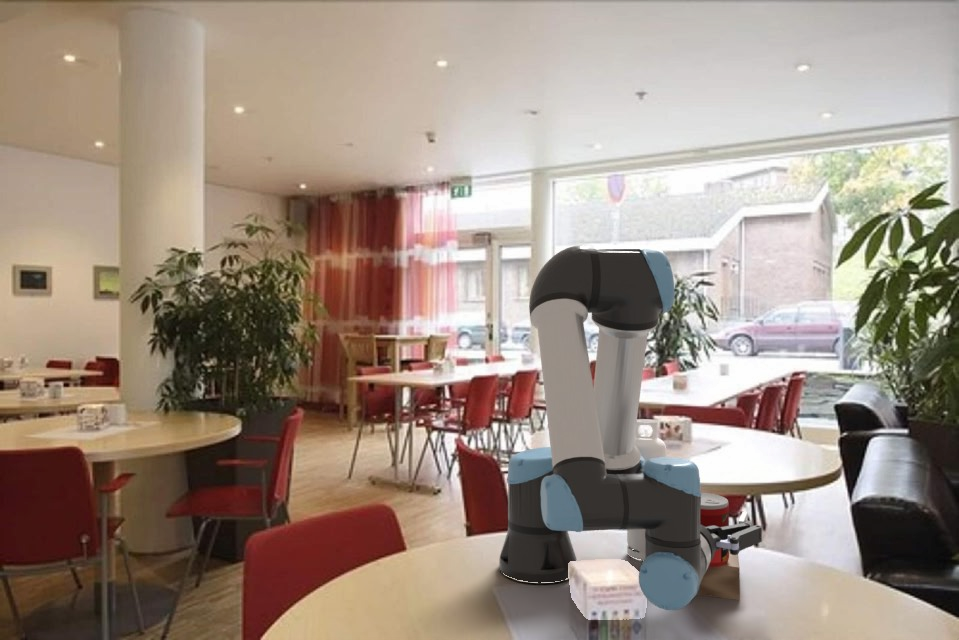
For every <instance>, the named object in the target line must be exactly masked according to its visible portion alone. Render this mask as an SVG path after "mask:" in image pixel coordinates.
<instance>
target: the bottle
mask: <svg viewBox="0 0 959 640" xmlns="http://www.w3.org/2000/svg"><path fill="white" fill-rule="evenodd" d="M641 426H650V428H651V429H652V431H651V432H649V428H643V430H644V431H642V430H641ZM634 445H635V446H636V447H637V448H638V450H639V451H640V455H641V456H642V457H643V458H644V459H645V461H647V460H648V459H650V458H657V457H668V456H667V455H668V454H667V446H666V443H665V441H663V440H662V439H661V438H659V421H658V420H656V419H650V418H649V419H647V418H646V419H645V418H639V419H638V418H637V423H636V431H635V440H634ZM626 538H627V539H626V541H627V542H626V543H627V545H626V547H627V550H626V552H627V553H628V554H629V555H630V556H632V557H634V558H637V559H641V560H645V529H629V530H626ZM632 549H634V551H633V550H632ZM627 553H626V554H627Z"/></svg>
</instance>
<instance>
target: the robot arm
mask: <svg viewBox="0 0 959 640" xmlns="http://www.w3.org/2000/svg"><path fill="white" fill-rule="evenodd" d="M667 256H668V255H666V254H665V252H664V251H663V250H662V249H660V248H659V247H656V246H643V245H639V244H634V245H631V244H630V245H582V244H581V245H574V246H569V247H567V248H564V249H562V250H561V251H559V252H557V253H556V254H554V255H553V256H552V257H550V259H549V260H547V261H546V262H545V264H544V265H543V266H542V267H541V269H540V271H539V272H538V274H537V276H536V278H535V279H534V282H533V284H532V287H531V290H530V295H529V305H528V306H529V307H528V309H529V318H530V323H531V325H532V326H533V327H534V328H535V329H537V337H538V345H539V354H540V362H541V363H540V364H541V373H542V381H543V382H542V383H543V393H544V399H545V400H544V401H545V409H546V419H547V426H548V427H547V428H548V434H549V435H548V436H549V437H548V438H549V444H550V445H549V446H544V447H543V446H542V447H535V448H531V449H526V450H523V451H519V452H517V453H515V454H513V456H512V457H510V459H509V461H508V467H507V477H506V482H507V484H508V485H507V494H508V495H507V502H508V503H507V525H508V526H507V533H506V536H505V540H504V541H503V542H504V543H503V544H502V549H501V551H500V555H499V560H498V561H499V562H498V563H499V568H500V569H499V571H500V570H501V572H502V573H504V574H505V575H507V576H509V577H512V578H515V579H517V580H523V581H528V582H538V583H541V582H555V581H561V580H565V579H566V578H568V563H569V562H570V561H576V560H577V557H576V553H575V551H574V548H573V547H574V546H573V543H572V541H571V538H570V535H569V532H576V533H581V532H591V531H608V530H610V531H611V530H618V531H619V530H624V531H625V530H626V531H627V530H629V529H645V560H644V561H643V562H642V561H641V562H642V563H641V565H640V569H639V571H638V584H639V588H640V589H641V592H642V593H643V595H644V597H645V598H646V600H647V601H648V602H650V603H651V604H652V605H654V606H655V607H657V608H659V609H662V610H665V611H677V610H680V609H683V608H685V607H686V606H687V605H689V603H691V601H692V600H693V599H694V598H695V597H696V595H698V594H697V591H698V590H699V585H700V583H701V581H702V579H703V576H704V574H705V573H706V570H707V568H708V566H709V564H710V562H711V560H712V558H713V556H714V554H715V551H718V550H719V549H720V548H727V549H728V551H730V554H732V555H738V556H739V553H740V552H741V551H744V550H745V549H748V548H750V547H753V546H754V545H755V546H756V545H758V544H760V543H762V542H763V537H762V536H763V534H762V533H763V531H762V530H763V529H762V527H763V526H761V525H759V524H756V525H753V521H752V520H748V514H749V513H748V511H743V510H742V512H741V515H740V517H739V518H738V519H739V520H738V523H737V524H731V525H730V524H729V526H725V527H718V526H715V525H713V526H708V527H704V526H703V525H701V524H700V512H701V493H702V492H701V491H702V490H701V478H700V470H699V467H698V465H697V464H696V463H695V462H693V461H691V460H690V459H686V458H682V457H677V456H676V457H675V456H667V457H657V458H650V459H648V460H647V461H645V459H644V458H643V457H642V456H641V455H640V451H639V450H638V448H637V447H636V446H635V445H634V440H635V431H636V423H637V419H638V414H639V406H640V405H639V404H640V398H641V388H642V382H643V375H644V374H643V373H644V365H645V356H646V349H647V342H648V333H650V332H652V331H653V330H654V329H656V328H657V327H658V323H659V317H660V314H661V315H664V314H666V313H668V312H670V311H671V310H672V307H673V305H674V301H675V280H674V276H673V275H674V274H673V270H672V266H671V263H670V261H669V258H668V257H667ZM589 314H591V321H592V322H593V323H594V324H595V326H596V327H598V334H597V336H598V338H597V347H596V349H597V350H596V359H595V368H594V378H593V376H592V370H591V369H592V368H591V364H590V363H591V362H590V359H589V358H590V357H589V351H588V345H587V339H586V332H585V326H584V325H585V324H584V323H585V322H586V321H587V319H588V316H589ZM712 532H713V533H712ZM501 572H500V573H501ZM502 573H501V574H502Z"/></svg>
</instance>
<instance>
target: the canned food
mask: <svg viewBox="0 0 959 640" xmlns="http://www.w3.org/2000/svg"><path fill="white" fill-rule="evenodd" d="M729 505H730V504H729V500H728V499H727V498H726V497H724V496H721V495H718V494H716V493H709V492H701V512H700V524H701V525H703V526H704V527H708V526H713V525H715V526H718V527H725V526H730V524H729V523H730V515H729V514H730V509H729V507H730V506H729ZM712 533H713V532H712ZM728 560H729V551H728V549H727V548H720V549H719V550H718V551H715V554H714V556H713V558H712V560H711V562H710V564H709V566H708V567H720V566H723V565H725V564H727V562H728Z"/></svg>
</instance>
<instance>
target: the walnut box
mask: <svg viewBox="0 0 959 640" xmlns="http://www.w3.org/2000/svg"><path fill="white" fill-rule="evenodd" d="M740 568H741V567H740V559H739V554H738V555H732V554H730V551H729V560H728V562H727V564H725V565H723V566H720V567H708V568H707V570H706V573H705V574H704V576H703V579H702V581H701V583H700V585H699V590H698V591H697V594H696V595H698V594H699V596H707V597H713V598H714V597H715V598H721V599H729V600H730V599H731V600H738V601H740V599H741V593H740V592H741V585H740V583H741V582H740V581H741V579H740V577H741V575H740V570H741V569H740Z"/></svg>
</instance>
